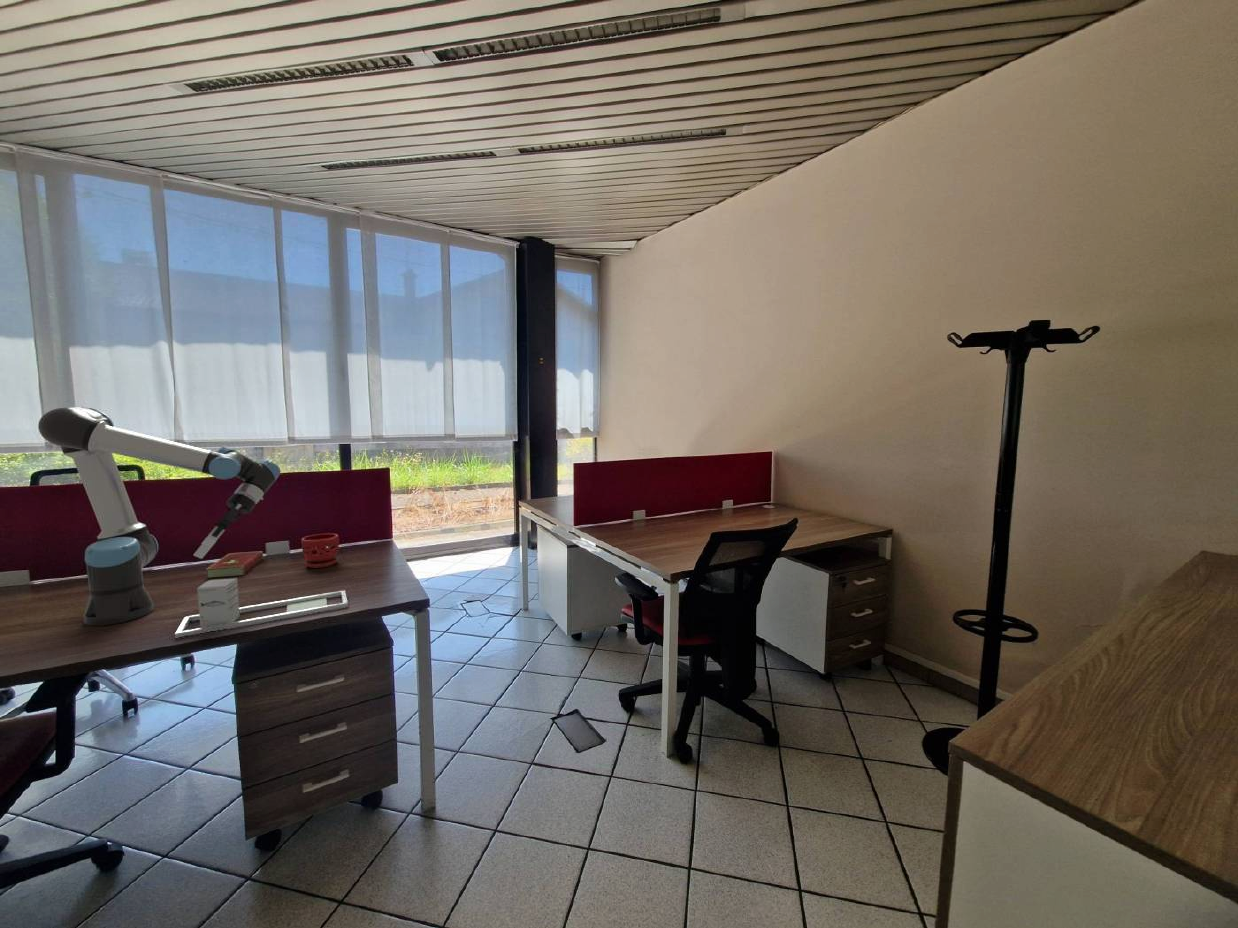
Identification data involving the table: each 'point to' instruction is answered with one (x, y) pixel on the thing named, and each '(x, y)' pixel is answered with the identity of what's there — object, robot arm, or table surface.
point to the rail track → (187, 619)
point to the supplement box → (218, 602)
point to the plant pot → (320, 550)
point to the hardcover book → (235, 564)
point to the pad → (306, 605)
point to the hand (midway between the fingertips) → (201, 551)
